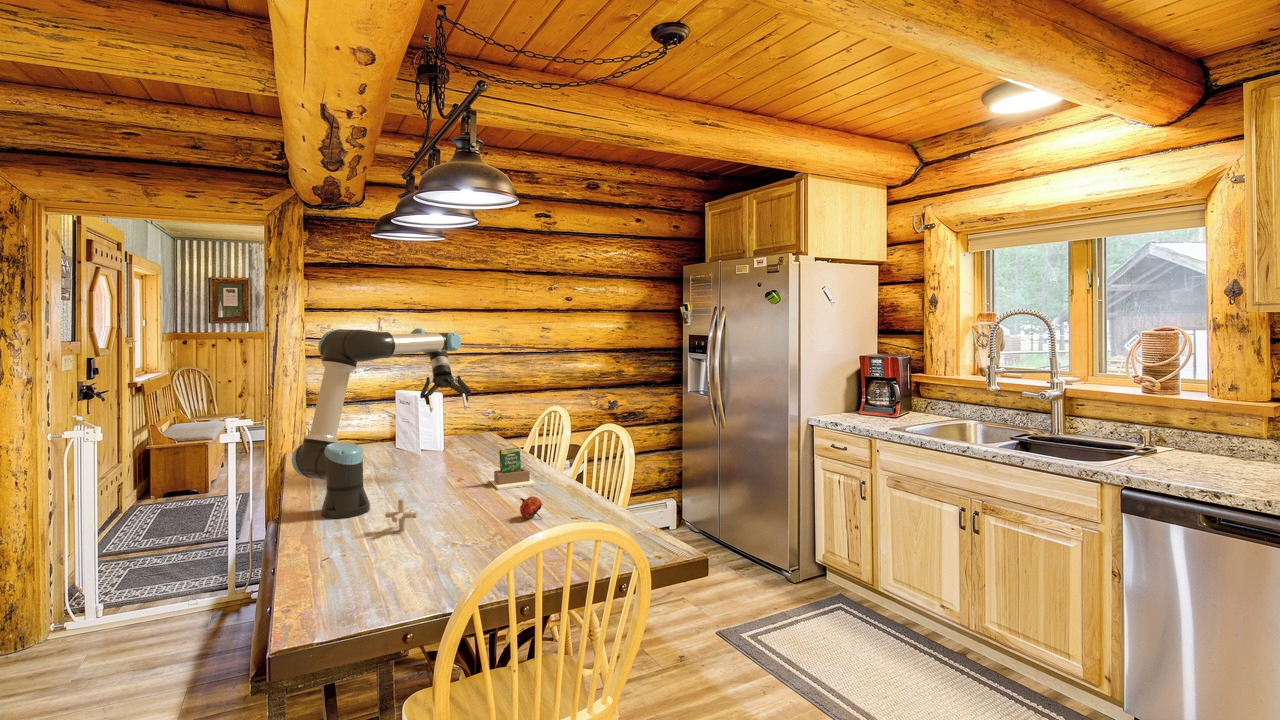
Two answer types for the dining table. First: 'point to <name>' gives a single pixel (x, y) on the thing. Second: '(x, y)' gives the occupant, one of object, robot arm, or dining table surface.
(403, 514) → the pipe connector
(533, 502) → the pomegranate
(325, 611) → the dining table surface
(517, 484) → the socket board
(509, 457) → the coffee box
